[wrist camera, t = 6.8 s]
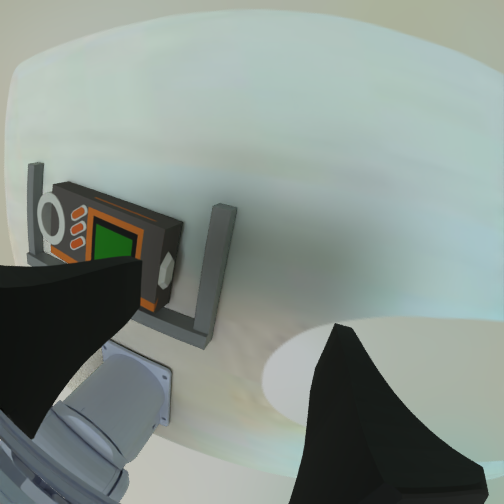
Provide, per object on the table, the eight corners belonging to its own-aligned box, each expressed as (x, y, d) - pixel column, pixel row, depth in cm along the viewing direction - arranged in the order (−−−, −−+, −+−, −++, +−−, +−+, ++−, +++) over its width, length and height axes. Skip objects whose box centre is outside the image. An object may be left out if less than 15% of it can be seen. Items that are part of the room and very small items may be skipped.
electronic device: (36, 179, 20) (166, 232, 17) (60, 175, 23) (189, 222, 20) (35, 248, 23) (154, 321, 20) (56, 240, 25) (174, 303, 22)
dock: (211, 338, 22) (203, 351, 21) (38, 258, 26) (26, 264, 24) (237, 207, 19) (227, 212, 17) (37, 162, 22) (23, 164, 21)
